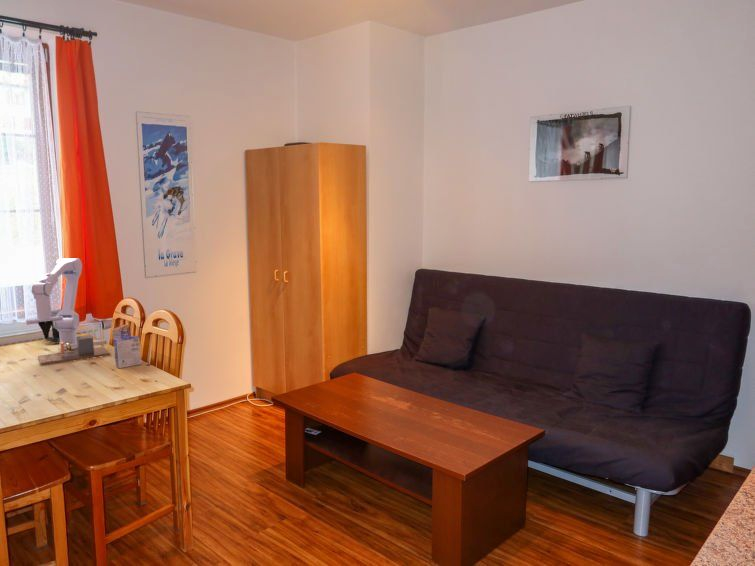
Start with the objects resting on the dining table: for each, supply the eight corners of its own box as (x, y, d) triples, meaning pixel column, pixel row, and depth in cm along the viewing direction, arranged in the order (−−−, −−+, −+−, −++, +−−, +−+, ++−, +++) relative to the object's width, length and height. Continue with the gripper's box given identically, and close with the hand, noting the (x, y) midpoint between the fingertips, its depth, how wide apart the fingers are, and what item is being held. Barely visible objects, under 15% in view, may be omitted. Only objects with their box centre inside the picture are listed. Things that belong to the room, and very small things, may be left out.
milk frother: (70, 335, 317) (68, 308, 315) (78, 341, 305) (76, 312, 303) (40, 340, 308) (38, 311, 306) (47, 345, 296) (44, 316, 294)
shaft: (61, 354, 270) (60, 343, 269) (60, 352, 274) (59, 341, 273) (107, 348, 280) (106, 337, 280) (105, 345, 284) (104, 335, 284)
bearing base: (40, 365, 262) (38, 346, 260) (38, 358, 273) (36, 340, 272) (109, 355, 277) (108, 337, 276) (104, 349, 289) (102, 331, 287)
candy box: (124, 357, 274) (121, 324, 272) (133, 357, 274) (130, 324, 271) (114, 362, 265) (111, 329, 263) (123, 362, 265) (121, 329, 262)
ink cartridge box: (138, 361, 266) (135, 330, 264) (142, 364, 262) (139, 332, 260) (114, 366, 260) (112, 333, 258) (118, 368, 256) (116, 335, 254)
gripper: (25, 312, 263) (28, 342, 265) (62, 308, 271) (65, 337, 273) (24, 309, 269) (27, 338, 271) (60, 305, 277) (63, 334, 279)
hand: (46, 338), depth 272 cm, fingers closed
